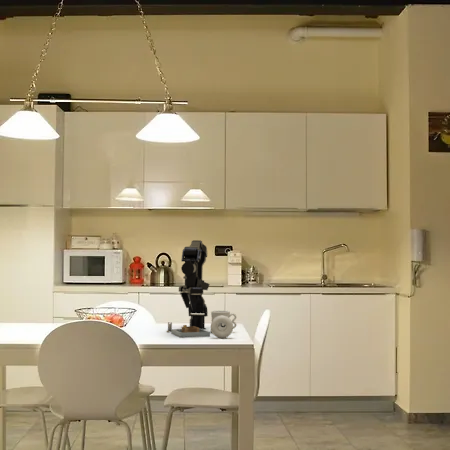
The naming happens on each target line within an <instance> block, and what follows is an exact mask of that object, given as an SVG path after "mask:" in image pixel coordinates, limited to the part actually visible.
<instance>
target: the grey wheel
mask: <svg viewBox="0 0 450 450" xmlns="http://www.w3.org/2000/svg"><path fill="white" fill-rule="evenodd" d="M220 323H224V324H225V326H226V328H225V330H223V331H221V330H219V328H218V325H219V324H220ZM233 326H234V324H233V323H232V319H231V318H230V317H229V318H228V317H226V316H223V315H221V316H217V317H215V318H214V319H213V321H212V320H211V322H210V332H211V331H212V332H211V333H212V334H213V335H214V336H215V337H217V338H219V339H226V338H228V337H229V336H231V334H232V333H233V330H234V329H233Z"/></svg>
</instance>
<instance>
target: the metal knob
mask: <svg viewBox="0 0 450 450" xmlns="http://www.w3.org/2000/svg"><path fill="white" fill-rule="evenodd" d="M171 329H173V323H172V322H171V321H170V322H168V321H167V330H166V333H171Z"/></svg>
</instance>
